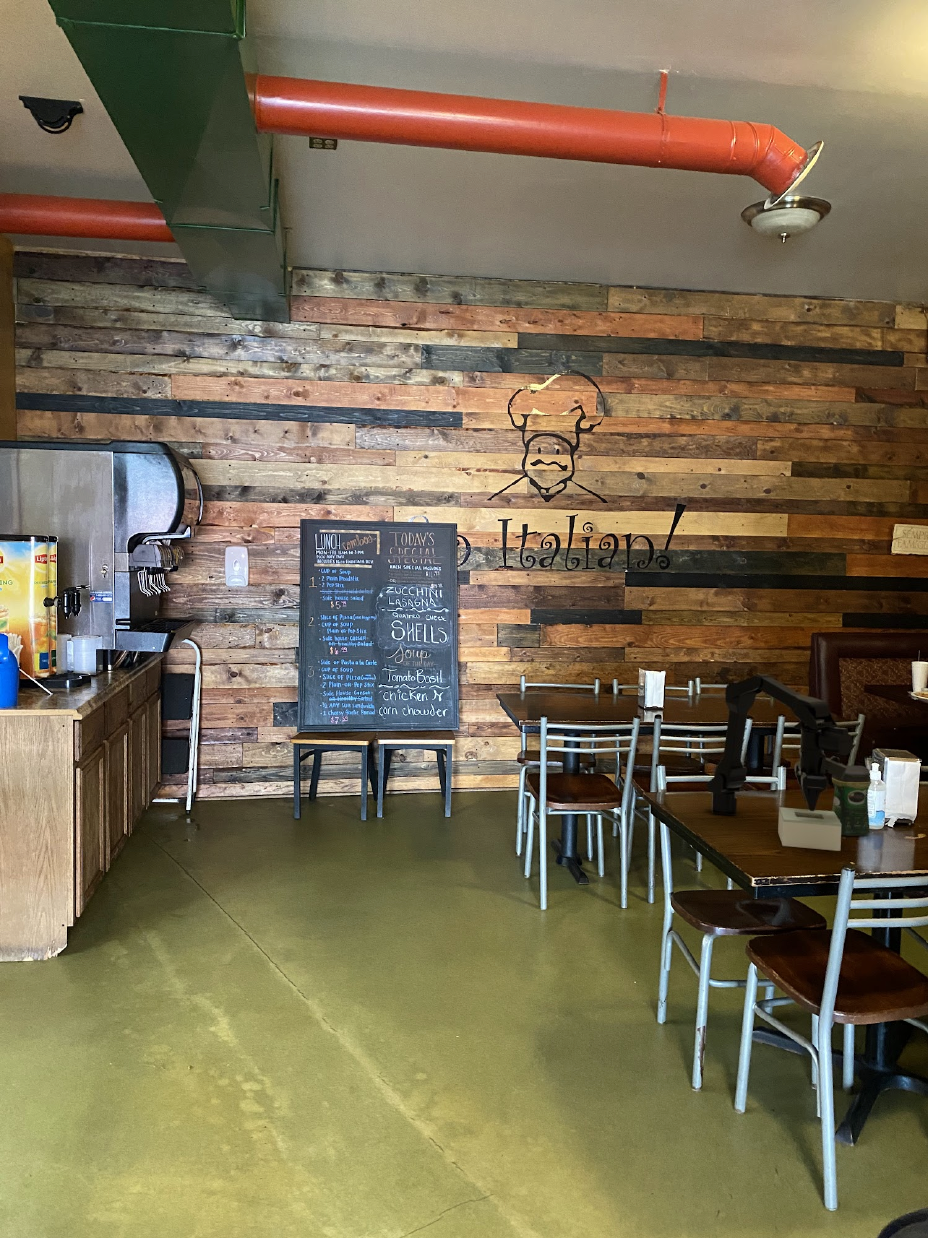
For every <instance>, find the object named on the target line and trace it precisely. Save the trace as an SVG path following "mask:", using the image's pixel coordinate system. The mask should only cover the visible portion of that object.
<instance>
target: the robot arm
mask: <svg viewBox="0 0 928 1238" xmlns="http://www.w3.org/2000/svg"><path fill="white" fill-rule="evenodd" d="M762 693H765V694H766V695H767V696H769V697H771V698H773V699H774V700H776V701H778V702H779V703H781V704H783V705H785V706H786V707H788V708H789V709H790V710H791V711H792V714H793V716H795V717H796V718H797V719H799V722H798V723H796V724H795V725H794V726H793V728H794V729H797V730H800V748H799V749H798V754H799V760H798V761H797V762H795V764H794V774H795V777H796V778H797V782H798V785H799V788H800V790H801V793H802V796H803V799H804V802H806V803H807V807H808V810H810V811H814V810H816V807H817V803H818V801H819V797H820V794H821V793H822V792H824V791H826V790H827V789H828V788H829V783H830V782H829V779H828V777H827V776H825V775H826V773H827V774H829V775H831V776H832V775H835V776H837V777H838V778H840V779H842V778H843V776H844V774H845V772H846V769H847V768H846V766H847V765H845V764H843V763H842V762H841V763H840V761H841V759H840V758H839V757H837V756H835V755H832V756H831V757H827V755H826V754H825V753H824V752H826V753H827V752H828V753H831V754H837V755H841V756H848V755H849V754H850V753H851V752H852V750H853V747H854V741H853V737H852V736H851V734H849V729H848V728H845V727H838V724H837V722H836V720H835V718H834V716H833V714H832V713H831V711H830V709H829V704H828V703H827V702H826V701H825V700H823V699H819V698H816V697H813V696H807V695H804V694H801V693H799V692H797V691H795V690H794V689H792V688H790V687H788V686H787V685H785V684H784V683H782V682H780V681H778V680H777V679H775V678H773V677H772V676H771V675H770V674H766V673H765V674H755V675H754V676H751V677H749V678H746V679H743V680H739V681H732V682H729V683H728V684H726V686H725V692H724V694H725V695H724V696H725V698H724V700H725V703H726V706H727V709H728V717H727V725H726V733H725V734H726V735H725V740H724V741H725V742H724V748H723V757H722V759H721V760H720V761H719V763H718V764H717V766H716V768H715V772H714V776H713V777H712V778H711V779H710V780H709V781H708V782H707V783H706V790H707V792H709V793H712V795H711V796H712V797H711V798H712V799H711V808H710V809H711V814H712V815H713V814H714V815H724V816H736V813H737V807H738V806H737V803H738V797H737V796H736V793H737V792H738V793H739V792H741V788H742V787H743V786H744V784H745V781H747V772H748V767H746V766H744V765H743V762H742V754H743V748H744V747H743V745H744V739H745V738H744V737H745V730H746V725H747V717H748V713H749V711H750V710H751V708H752V707H753V706H754V703H755V701H756V697H757V696H758V695H759V694H762Z"/></svg>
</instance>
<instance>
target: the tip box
mask: <svg viewBox="0 0 928 1238" xmlns="http://www.w3.org/2000/svg"><path fill="white" fill-rule="evenodd" d="M777 824H778V828H777V832H778V836H779V838H780V841H781V845H782V847H791V848H792V847H793V848H794V847H795V848H802V849H805V848H806V849H816V850H824V851H825V850H827V851H835V852H836V851H837V852H838V851H839V852H840V851H841V844H842V843H841V842H842V835H841V823H840V821H839V819H838V818H837V816H836V814H835V812H832V810H830V811H829V810H819V809H818V810H817V809H815V810H814V811H810V810H809V809H805V808H791V807H782V806H781V807H780V806H779V807H778V823H777Z"/></svg>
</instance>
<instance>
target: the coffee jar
mask: <svg viewBox="0 0 928 1238" xmlns="http://www.w3.org/2000/svg"><path fill="white" fill-rule="evenodd" d="M845 766H846V768H847V769H846V772H845V774H844V776H843V778H842V779H840V778H838V777H837V776H835V775H832V774H831V781H832V784H833V791H834V792H833V800H832V801H833V802H832V808H831V811H832V812H835V814H836V816H837V818H838V819H839V821H840V823H841V836H853V837H855V836H856V837H857V836H867V835H869V833H870V818H869V817H870V816H869V805H868V804H869V802H868V801H869V799H868V796H869V795H868V793H869V788H870V787H871V786H870V785H871V782H872V779H871V772H870V770H869V768H868V767H865V766H863V765H845Z"/></svg>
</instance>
